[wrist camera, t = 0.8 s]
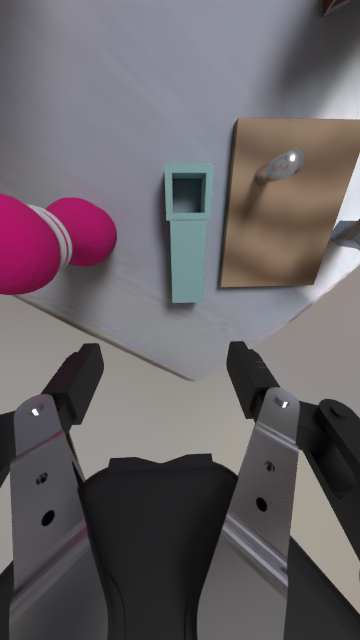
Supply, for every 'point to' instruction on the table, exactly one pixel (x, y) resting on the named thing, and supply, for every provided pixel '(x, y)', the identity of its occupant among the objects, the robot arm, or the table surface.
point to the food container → (332, 5)
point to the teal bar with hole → (188, 232)
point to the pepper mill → (49, 241)
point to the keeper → (347, 234)
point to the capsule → (280, 167)
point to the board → (285, 199)
